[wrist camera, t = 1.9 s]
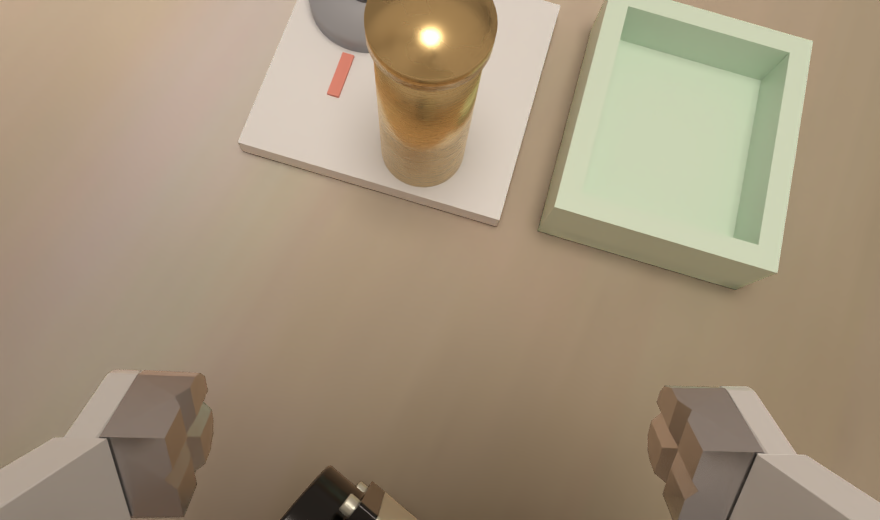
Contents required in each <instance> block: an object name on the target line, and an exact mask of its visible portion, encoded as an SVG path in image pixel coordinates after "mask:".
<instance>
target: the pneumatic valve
mask: <svg viewBox="0 0 880 520" xmlns="http://www.w3.org/2000/svg"><path fill="white" fill-rule="evenodd" d="M280 520H418V519H416V518H415V517H414V516H413V515H412V514H411V513H409V512H408V511H407V510H406V509H405V508H404V507H402V506H401V505H400V504H399V503H398V502H396V501H395V500H394V499H393V498H392V497H391V496H389V495H388V494H387V493H386V492H385V491H384V490H382V489H381V488H380V487H379V486H378V485H376V484H375V483H374V482H373V481H372V482H371V484H370V485H369V486H368V487H367V486H366V485H365V484H364V483H363V482H361V481H360V482H359V483H358V485H357V486H355V485H354V484H353V483H351V482H350V481H349V480H348V479H347V478H345V477H344V476H343V475H342V474H341V473H340V472H338V471H337V470H336V469H335V468H334V467H333V466H328V467H327V468H325V469H324V470H323V471H322V472H321V473H320V474H319V475H318V476H317V478H316V479H315V480H314V481H313V482H312V483H311V484H310V485H309V486H308V488H307V489H306V490H305V491H304V492H303V493H302V494H301V496H300V497H299V498H298V499H297V500H296V501H295V503H294V504H293V505H292V506H291V507H290V509H289V510H288V511H287V512H286V513H285V515H284V516H283V517H282V518H281V519H280Z"/></svg>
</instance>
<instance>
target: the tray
mask: <svg viewBox="0 0 880 520" xmlns="http://www.w3.org/2000/svg"><path fill="white" fill-rule="evenodd" d="M812 44H813V41H811V40H807V39H804V38H800V37H797V36H793V35H790V34H787V33H783V32H780V31H776V30H773V29H769V28H766V27H762V26H759V25H755V24H752V23H748V22H745V21H741V20H738V19H734V18H731V17H728V16H724V15H721V14H717V13H714V12H710V11H707V10H703V9H700V8H696V7H693V6H689V5H686V4H682V3H679V2H676V1H672V0H605V1H604V3H603V5H602V7H601V9H600V11H599V13H598V15H597V17H596V20H595V22H594V24H593V26H592V28H591V32H590V36H589V40H588V43H587V47H586V51H585V55H584V58H583V62H582V66H581V70H580V73H579V77H578V81H577V85H576V88H575V92H574V96H573V100H572V104H571V107H570V111H569V115H568V119H567V122H566V126H565V130H564V134H563V137H562V141H561V145H560V149H559V153H558V156H557V160H556V164H555V168H554V171H553V175H552V179H551V183H550V186H549V190H548V194H547V198H546V202H545V205H544V209H543V213H542V217H541V220H540V224H539V228H538V231H540V232H543V233H547V234H550V235H553V236H557V237H560V238H563V239H567V240H570V241H573V242H577V243H580V244H583V245H587V246H590V247H594V248H597V249H600V250H604V251H607V252H610V253H614V254H617V255H620V256H624V257H627V258H630V259H634V260H637V261H641V262H644V263H647V264H651V265H654V266H657V267H661V268H664V269H667V270H671V271H674V272H678V273H681V274H684V275H688V276H691V277H694V278H698V279H701V280H704V281H708V282H711V283H714V284H718V285H721V286H725V287H728V288H731V289H735V290H736V289H739V288H741V287H744V286H746V285H749V284H751V283H754V282H756V281H759V280H761V279H764V278H766V277H769V276H771V275H774V274H776V273H777V272H778V266H779V259H780V253H781V246H782V240H783V233H784V227H785V220H786V214H787V207H788V201H789V194H790V188H791V181H792V175H793V168H794V162H795V155H796V149H797V142H798V135H799V129H800V122H801V116H802V109H803V103H804V96H805V90H806V83H807V77H808V70H809V64H810V57H811V51H812Z"/></svg>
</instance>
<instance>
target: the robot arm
mask: <svg viewBox="0 0 880 520" xmlns="http://www.w3.org/2000/svg"><path fill="white" fill-rule="evenodd" d="M207 392H208V388H207V383H206V379H205V376H204V375H203V374H201V373H192V372H172V371H152V370H144V371H140V370H121V369H115V370H113V371H111V372H109V373H108V374H107V375H106V376H105V378H104V379H103V380H102V382H101V383H100V385H99V386H98V388H97V389H96V391H95V392H94V394H93V395H92V396H91V398H90V399H89V401H88V402H87V404H86V405H85V407H84V408H83V410H82V411H81V412H80V414H79V415H78V417H77V418H76V420H75V421H74V423H73V424H72V425H71V427H70V428H69V430H68V431H67V433H66V434H65V436H64V437H54V438H52V439H50V440H49V441H47V442H45V443H44V444H42V445H40V446H38V447H37V448H35V449H33V450H32V451H30V452H28V453H27V454H25V455H23V456H22V457H20V458H18V459H16V460H15V461H13V462H11V463H10V464H8V465H6V466H5V467H3V468H1V469H0V520H131V518H155V517H184V515H185V513H186V510H187V508H188V505H189V503H190V501H191V498H192V496H193V493H194V491H195V488H196V486H197V482H196V477H195V471H196V470H197V469H199V468H200V467H201V466H203V465H204V464H205V463H206V461H207V458H208V455H209V453H210V450H211V444H212V439H213V433H214V432H213V415H212V410H211V409H210V408H209V407H208V406H207V405H206V404H205V403H204V402H203V401H204V399H205V396H206V394H207ZM657 404H658V407H659V409H660V411H661V413H660V414H659V415H658V416H656V417H655V418H654V419H653V420H651V423H650V427H649V431H648V454H649V459H650V463H651V466H652V468H653V471H654V473H655V474H656V475H657V476H658V477H659V478H661V479H662V480H663V481H664V482H665V483H666V485H665V488H664V491H663V497H664V499H665V502H666V504H667V506H668V509H669V511H670V514H671V516H672V519H673V520H880V503H879V502H878V501H876V500H875V499H873V498H872V497H870V496H869V495H867V494H866V493H864V492H862V491H861V490H859V489H858V488H856V487H855V486H853V485H852V484H850V483H849V482H847V481H845V480H844V479H842V478H841V477H839V476H838V475H836V474H835V473H833V472H832V471H830V470H828V469H827V468H825V467H824V466H822V465H821V464H819V463H818V462H816V461H815V460H813V459H811V458H810V457H808V456H807V455H797V453H796V452H795V450H794V449H793V448H792V446H791V445H790V443H789V442H788V440H787V439H786V437H785V436H784V434H783V433H782V431H781V430H780V428H779V427H778V425H777V424H776V422H775V421H774V419H773V418H772V416H771V415H770V413H769V412H768V410H767V409H766V407H765V406H764V404H763V403H762V401H761V400H760V398H759V397H758V396H757V394H756V393H755V391H754V390H753V389H751V388H750V387H748V386H720V387H710V386H664V387H663V388H662V390H661V391H660V393H659V396H658V399H657Z"/></svg>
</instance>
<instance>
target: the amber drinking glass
mask: <svg viewBox="0 0 880 520" xmlns="http://www.w3.org/2000/svg"><path fill="white" fill-rule="evenodd" d="M497 26H498V19H497V12H496V7H495V5H494V2H493V0H367V2H366V6H365V11H364V28H365V38H366V44H367V47H368V51H369V53H370V55H371V57H372V59H373V61H374V72H375V83H376V95H377V106H378V117H379V129H380V140H381V151H382V157H383V160H384V163H385V165H386V167H387V168H388V170H389V171H390V172H391V174H392V175H393V176H395V177H396V178H397V179H398V180H400V181H401V182H403V183H405V184H408V185H411V186H415V187H432V186H436V185H439V184H441V183H444V182H445V181H447V180H448V179H450V178H451V177H452V176H453V175H454V174H455V173H456V172H457V170H458V169H459V167H460V165H461V163H462V160H463V156H464V152H465V147H466V142H467V138H468V133H469V129H470V124H471V119H472V115H473V110H474V106H475V101H476V97H477V92H478V87H479V83H480V78H481V74H482V69H483V68H484V67H485V65H486V64H487V62H488V60H489V58H490V56H491V53H492V50H493V46H494V42H495V38H496V33H497Z"/></svg>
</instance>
